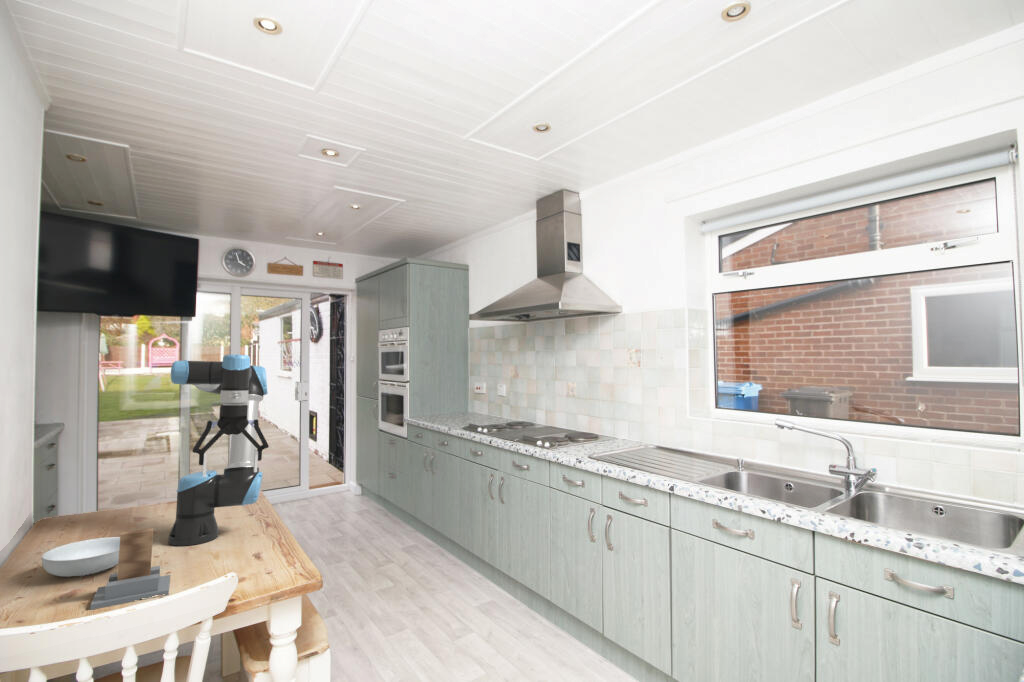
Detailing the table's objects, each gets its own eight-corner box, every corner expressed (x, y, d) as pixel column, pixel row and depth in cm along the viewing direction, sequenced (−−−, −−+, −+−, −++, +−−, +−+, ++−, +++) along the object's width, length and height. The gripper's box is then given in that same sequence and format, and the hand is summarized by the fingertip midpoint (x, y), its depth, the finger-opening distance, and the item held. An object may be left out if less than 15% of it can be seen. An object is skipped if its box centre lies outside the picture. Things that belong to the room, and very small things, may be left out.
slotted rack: (170, 578, 140) (171, 562, 140) (168, 594, 130) (169, 576, 130) (97, 591, 131) (99, 574, 131) (90, 609, 121) (91, 590, 121)
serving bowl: (148, 557, 156) (149, 536, 156) (94, 585, 135) (96, 560, 135) (81, 557, 155) (83, 535, 156) (17, 586, 134) (19, 560, 135)
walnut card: (149, 583, 134) (153, 528, 135) (149, 587, 132) (153, 530, 133) (117, 589, 130) (121, 532, 131) (116, 593, 128) (120, 534, 129)
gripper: (185, 405, 140) (181, 480, 139) (280, 404, 154) (276, 471, 152) (185, 404, 146) (181, 475, 145) (276, 402, 160) (273, 467, 159)
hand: (230, 473), depth 149 cm, fingers open, 13 cm apart
